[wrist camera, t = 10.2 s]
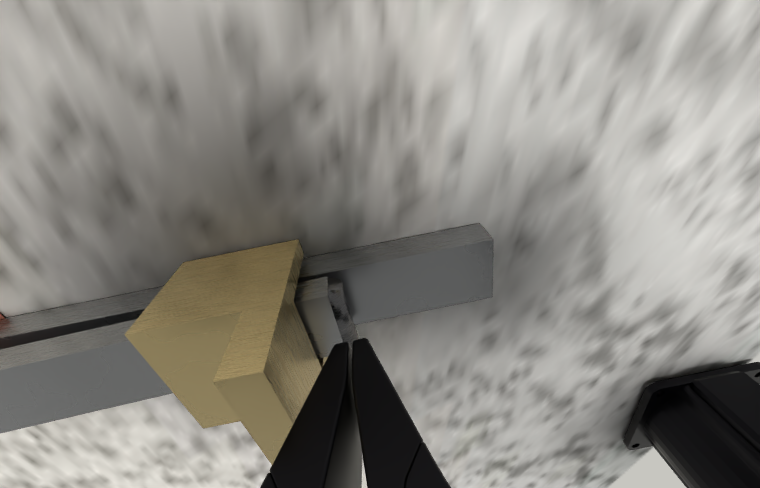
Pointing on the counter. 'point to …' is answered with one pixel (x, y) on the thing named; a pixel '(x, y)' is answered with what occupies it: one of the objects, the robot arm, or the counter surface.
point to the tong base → (353, 267)
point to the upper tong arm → (129, 362)
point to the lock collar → (233, 341)
